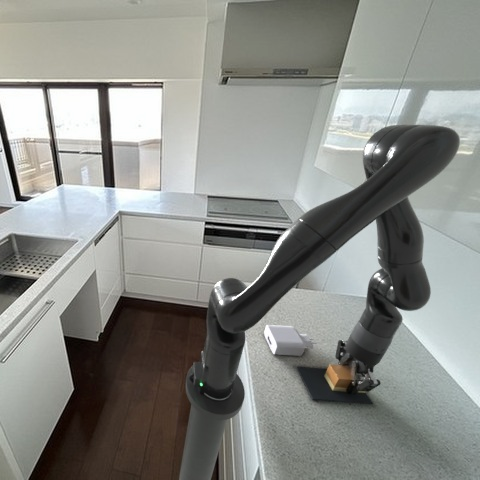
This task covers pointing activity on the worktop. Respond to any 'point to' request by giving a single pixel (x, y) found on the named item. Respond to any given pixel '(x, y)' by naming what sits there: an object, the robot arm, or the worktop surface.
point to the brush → (339, 377)
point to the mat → (327, 387)
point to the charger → (287, 340)
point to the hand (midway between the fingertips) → (344, 383)
